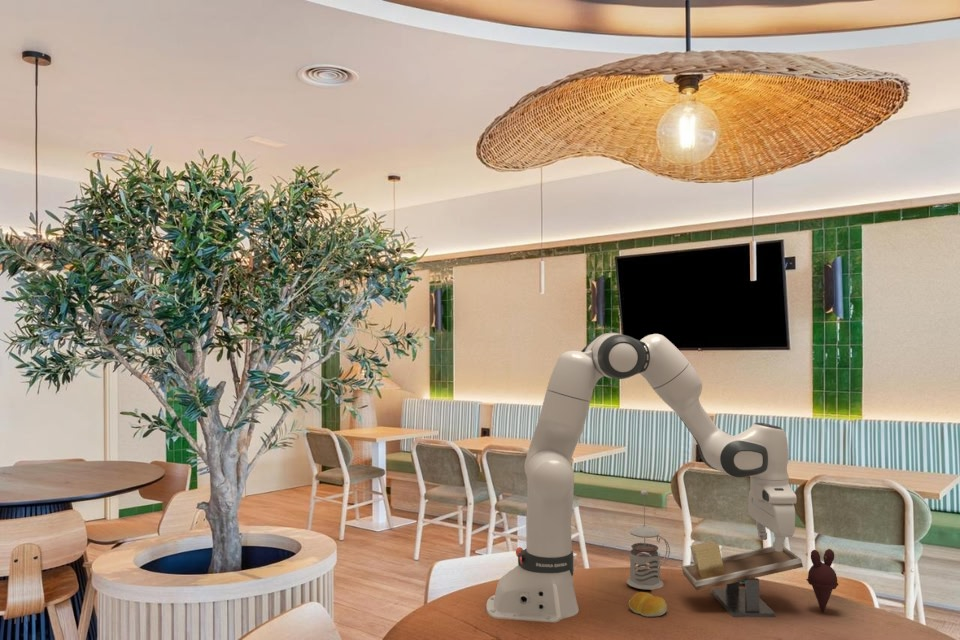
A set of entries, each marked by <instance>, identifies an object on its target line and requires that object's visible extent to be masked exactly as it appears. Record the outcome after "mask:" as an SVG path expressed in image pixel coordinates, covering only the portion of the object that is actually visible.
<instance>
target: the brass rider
mask: <svg viewBox="0 0 960 640" xmlns="http://www.w3.org/2000/svg"><path fill="white" fill-rule="evenodd" d="M689 547H690V550H691V555H692V559H693V564H694V565H695V569H696V573H697V574H698V576H699V577H700V578H701V579H703V578H708V577H712V576H717V575H721V574H725V570H724V566H723V562H722V553H721V550H720V546H719V544H717V543H716V542H715V541H714V540H710V541H707V542H703V543H702V542H701V543H697V544H693V545H690V546H689Z"/></svg>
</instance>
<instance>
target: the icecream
mask: <svg viewBox="0 0 960 640" xmlns="http://www.w3.org/2000/svg"><path fill="white" fill-rule="evenodd" d="M822 558H823V559H822V560H823V562H822V560H821V556H820V553H819V551H818V550H816V549H812V550H811V552H810V560H811V563H812V565H811V567H810V568H809V570H808V574H807V578H806V582H808V585H811V587H812V590H813V592H814V595H815V597H816V600H817V604H818V607H819V609H820V611H821V612H823V613H824V612H825V610H826V607H827V605H828V602H829V600H830V597H831V595H832V592H833V590H836V589H837V587H838V586H839V583H838V576H837V573H836V571H835V569H834V568H833V567H832V564H833V562H834V560H835V552H834V550H832V549H831V548H828V549H826V550H825V551H824V554H823V557H822Z"/></svg>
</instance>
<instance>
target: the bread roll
mask: <svg viewBox="0 0 960 640" xmlns="http://www.w3.org/2000/svg"><path fill="white" fill-rule="evenodd" d="M628 607H629V609H630V610H631V611H632V612H633V613H635V614H637V615H640V616H643V617H647V618H648V617H649V618H652V617H653V618H654V617H660V616H662V615H664V614H665V613H667V611H668V605H667V602H666V600H665V599H664V598H662V597H660V596H656V595H655V596H654V595H652V593H651V594H650V593H649V592H646V591H645V592H644V591H640V592H637V593H635V594H634V595H633V596H632V597H631V598H630V599H629V600H628Z"/></svg>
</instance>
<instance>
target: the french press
mask: <svg viewBox="0 0 960 640" xmlns="http://www.w3.org/2000/svg"><path fill="white" fill-rule="evenodd" d="M640 495H642V496H643V512H644V513H643V519H644V520H643V521H644V522H643V524H642V525H638V526H634V527H632V528H630V530H629V534H630V535H631V536H632V537H633V536H634V537H637V538H642V539H643V541H644V542H636V543H633V544H632V545H630V546H631V548H632V549H631V550H630V552H629V554H630V555H629V559H630V561H629V562H630V565H629V566H630V567H629V568H630V574H629V575H630V577H629V578H627V580H626V583H627V585H628V586H630V587H633V588H636V589H640V590H658V589H661V588H663V587H664V586H665V584H664V582H663V581H662V580H661V566H662V565H663V564H666V562H667V561H668V560H669V557H670V554H671V548H670V544H669V543H668V541H667V540H666V539H665V538H664V537H662V536H660V534H661V532H660V531H659V530H658V529H656V528H655V527H654V526H653V527H652V526H649V525H646V508H645V507H646V498H645V497H646V496H648V495H649V493H648V490H646V489H644V490H643V489H642V490H641V491H640ZM651 538H656V541H657V542H658V543H660V542H661V540H663V541H664V543H665V546H666V548H665V549H666V551H665V555H664V557H663V558H662V559H661V560H660V557H661V556H660V554H661V553H659V551H658V550H659V547H658V546H657V544H656V545H655V544H653V543H649V542H646V539H651ZM640 553H644V554H640ZM645 553H647V554H649V555H647V554H645ZM638 554H639V555H638ZM666 557H667V558H666ZM662 561H664V562H662Z"/></svg>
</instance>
